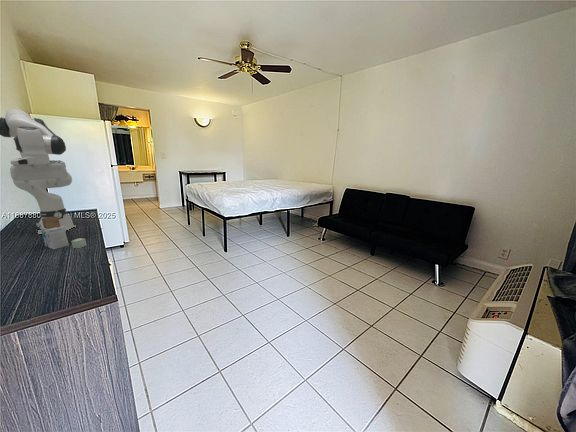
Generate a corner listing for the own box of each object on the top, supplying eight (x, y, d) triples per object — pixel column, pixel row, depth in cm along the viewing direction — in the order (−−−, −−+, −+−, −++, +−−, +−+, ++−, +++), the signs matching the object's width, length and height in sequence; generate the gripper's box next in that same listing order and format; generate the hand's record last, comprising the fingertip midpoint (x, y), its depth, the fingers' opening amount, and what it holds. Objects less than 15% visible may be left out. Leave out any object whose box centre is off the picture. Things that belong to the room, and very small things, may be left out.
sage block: (73, 247, 123) (71, 240, 122) (80, 245, 127) (78, 238, 126) (79, 248, 122) (77, 241, 121) (86, 245, 126) (85, 238, 125)
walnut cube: (44, 227, 123) (41, 218, 121) (56, 225, 127) (54, 216, 125) (47, 228, 120) (45, 219, 119) (60, 226, 124) (58, 217, 123)
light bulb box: (45, 246, 126) (39, 227, 123) (61, 242, 131) (56, 224, 129) (53, 249, 121) (47, 230, 118) (69, 245, 127) (64, 226, 124)
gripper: (61, 160, 127) (68, 185, 130) (5, 161, 109) (14, 190, 113) (66, 160, 124) (73, 186, 127) (9, 161, 106) (18, 191, 110)
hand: (45, 188), depth 120 cm, fingers open, 8 cm apart
